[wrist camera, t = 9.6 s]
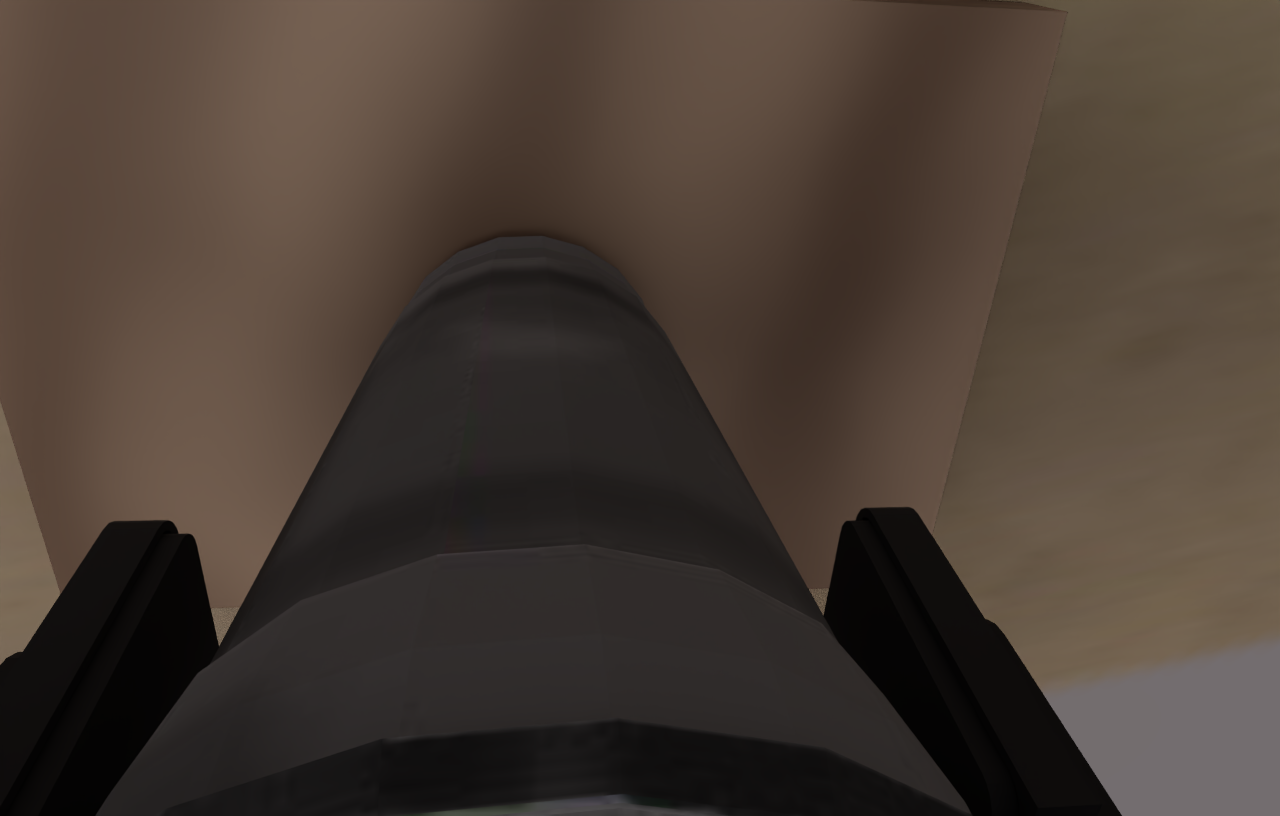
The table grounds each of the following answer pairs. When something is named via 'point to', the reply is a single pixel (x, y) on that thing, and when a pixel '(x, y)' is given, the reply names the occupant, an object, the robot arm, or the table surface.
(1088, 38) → the table surface
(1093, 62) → the table surface
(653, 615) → the beverage cup
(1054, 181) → the table surface
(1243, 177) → the table surface
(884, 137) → the serving board
